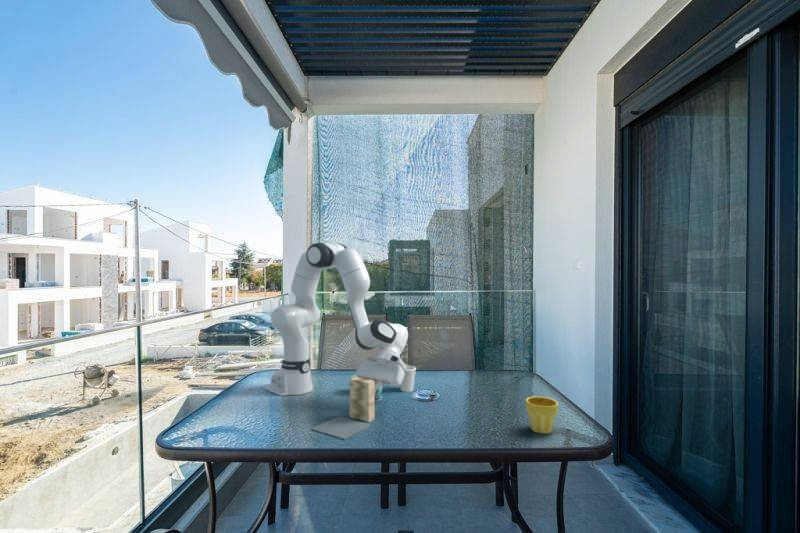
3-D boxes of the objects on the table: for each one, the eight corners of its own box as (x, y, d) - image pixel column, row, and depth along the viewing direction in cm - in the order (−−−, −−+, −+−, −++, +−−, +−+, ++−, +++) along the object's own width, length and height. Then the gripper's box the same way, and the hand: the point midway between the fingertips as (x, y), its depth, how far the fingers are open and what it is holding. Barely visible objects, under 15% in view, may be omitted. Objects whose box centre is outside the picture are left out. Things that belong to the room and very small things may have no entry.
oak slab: (349, 417, 152) (349, 379, 152) (355, 414, 155) (355, 377, 155) (368, 422, 147) (368, 383, 147) (374, 419, 150) (374, 380, 150)
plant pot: (561, 437, 133) (560, 407, 133) (527, 435, 135) (527, 405, 135) (554, 425, 144) (554, 397, 144) (524, 423, 145) (523, 395, 145)
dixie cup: (416, 392, 181) (416, 370, 181) (397, 392, 181) (397, 370, 181) (416, 387, 190) (415, 365, 190) (397, 387, 190) (397, 365, 190)
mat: (311, 429, 140) (311, 428, 140) (339, 417, 152) (339, 416, 152) (344, 439, 132) (344, 438, 132) (371, 425, 144) (371, 424, 144)
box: (378, 396, 176) (378, 379, 176) (349, 394, 179) (348, 377, 180) (383, 391, 184) (383, 374, 184) (354, 389, 187) (354, 373, 187)
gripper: (362, 353, 168) (346, 382, 160) (404, 359, 156) (389, 391, 148) (369, 361, 171) (353, 391, 163) (410, 368, 160) (396, 400, 152)
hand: (371, 391), depth 156 cm, fingers closed
